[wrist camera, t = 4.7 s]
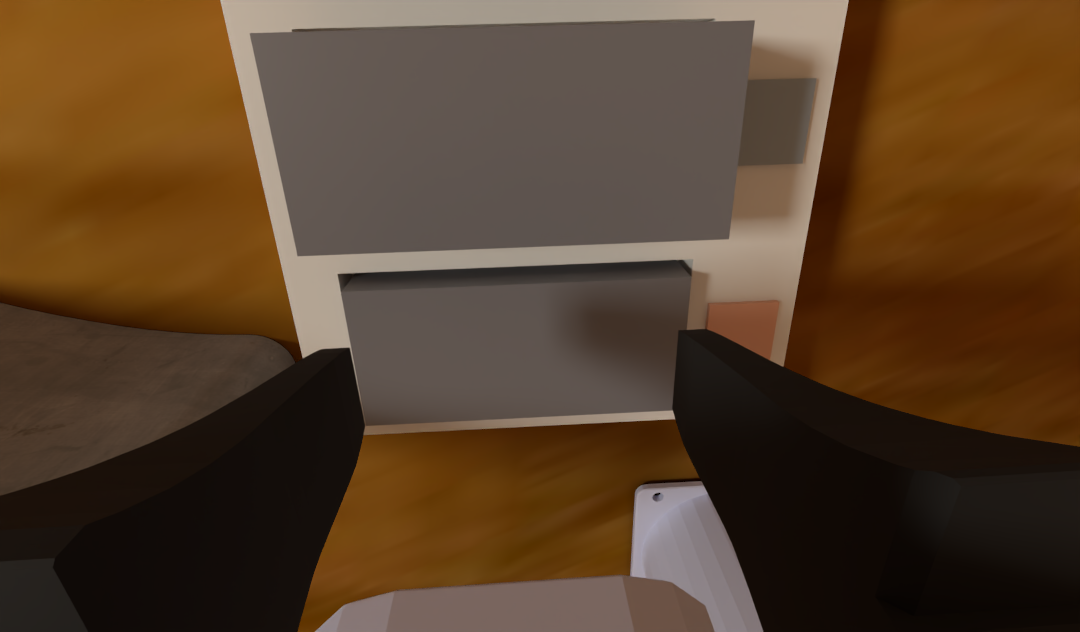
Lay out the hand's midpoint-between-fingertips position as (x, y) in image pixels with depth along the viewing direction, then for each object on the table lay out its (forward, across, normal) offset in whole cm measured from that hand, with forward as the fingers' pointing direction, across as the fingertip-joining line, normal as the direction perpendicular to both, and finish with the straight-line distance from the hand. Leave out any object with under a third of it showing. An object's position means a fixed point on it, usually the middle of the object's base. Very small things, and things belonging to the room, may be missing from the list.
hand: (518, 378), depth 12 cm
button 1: (+8, 0, +2) cm, 8 cm away
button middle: (+5, 0, -5) cm, 7 cm away
